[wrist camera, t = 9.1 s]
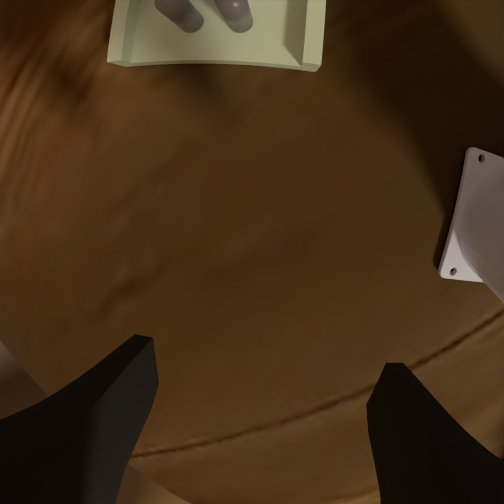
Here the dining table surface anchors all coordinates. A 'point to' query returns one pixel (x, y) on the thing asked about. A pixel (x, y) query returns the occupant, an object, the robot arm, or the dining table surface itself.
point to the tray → (218, 33)
